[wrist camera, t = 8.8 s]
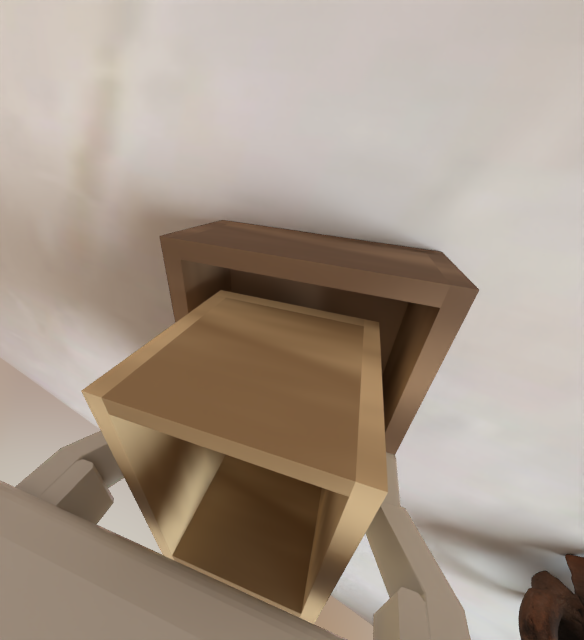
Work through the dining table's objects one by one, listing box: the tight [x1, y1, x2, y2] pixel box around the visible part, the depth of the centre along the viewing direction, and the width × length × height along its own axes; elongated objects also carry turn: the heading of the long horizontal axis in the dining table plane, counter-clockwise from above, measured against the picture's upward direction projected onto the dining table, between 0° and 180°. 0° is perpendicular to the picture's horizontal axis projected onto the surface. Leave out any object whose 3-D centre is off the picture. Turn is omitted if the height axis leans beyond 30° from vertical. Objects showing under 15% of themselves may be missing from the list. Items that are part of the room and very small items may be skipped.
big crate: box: [160, 220, 479, 455], centre depth 13 cm, size 13×10×4 cm
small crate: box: [82, 290, 388, 624], centre depth 9 cm, size 9×6×6 cm, turn 175°
